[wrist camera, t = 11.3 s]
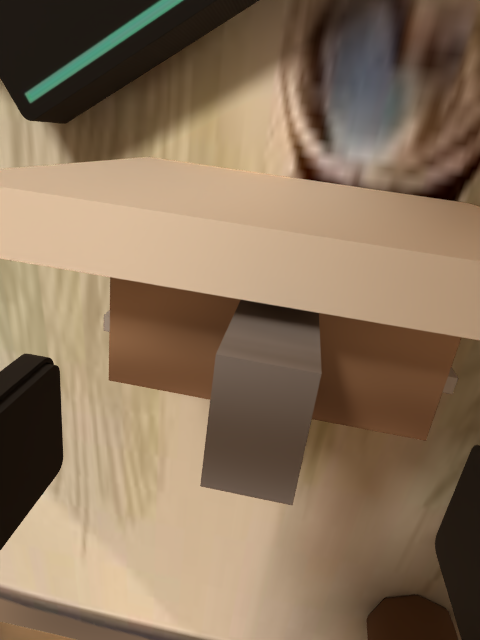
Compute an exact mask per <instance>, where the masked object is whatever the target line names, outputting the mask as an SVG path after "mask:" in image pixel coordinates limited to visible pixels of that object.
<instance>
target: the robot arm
mask: <svg viewBox="0 0 480 640" xmlns="http://www.w3.org/2000/svg"><path fill="white" fill-rule="evenodd" d="M62 462H63V441H62V416H61V391H60V371H59V367H58V366H56V365H54V363H53V361H52V359H51V358H48V357H43V356H37V355H32V354H23V355H21V356H20V357H19V358H18V359H16V360H15V361H14V362H12V363H11V364H10V365H8V366H7V367H6V368H4V369H3V370H2V371H0V550H1V549H2V547H3V546H4V545H5V543H6V542H7V541H8V539H9V538H10V537H11V535H12V534H13V533H14V531H15V530H16V529H17V527H18V526H19V525H20V523H21V522H22V521H23V519H24V518H25V517H26V515H27V514H28V513H29V511H30V510H31V509H32V507H33V506H34V505H35V503H36V502H37V501H38V499H39V498H40V497H41V495H42V494H43V493H44V491H45V490H46V489H47V487H48V486H49V485H50V483H51V482H52V481H53V479H54V478H55V477H56V475H57V474H58V472H59V470H60V468H61V465H62ZM435 549H436V554H437V558H438V561H439V565H440V568H441V571H442V575H443V578H444V581H445V585H446V588H447V591H448V595H449V598H450V602H451V605H452V608H453V612H454V615H455V618H456V622H457V625H458V628H459V632H460V635H461V638H462V640H480V446H479V445H475V446H474V447H473V448H472V450H471V452H470V455H469V457H468V459H467V462H466V464H465V467H464V469H463V472H462V474H461V477H460V479H459V481H458V484H457V486H456V489H455V491H454V494H453V496H452V498H451V501H450V503H449V506H448V508H447V511H446V513H445V515H444V518H443V520H442V523H441V525H440V528H439V530H438V532H437V535H436V540H435ZM0 640H76V639H72V638H68V637H64V636H60V635H55V634H51V633H47V632H43V631H39V630H34V629H30V628H26V627H21V626H17V625H13V624H9V623H4V622H1V621H0Z"/></svg>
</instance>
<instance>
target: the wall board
mask: <svg viewBox="0 0 480 640" xmlns="http://www.w3.org/2000/svg"><path fill="white" fill-rule="evenodd" d="M0 258H1V259H7V260H13V261H19V262H25V263H31V264H36V265H42V266H48V267H54V268H60V269H66V270H72V271H77V272H83V273H89V274H95V275H101V276H107V277H112V278H118V279H124V280H130V281H136V282H142V283H148V284H153V285H159V286H165V287H171V288H177V289H183V290H188V291H194V292H200V293H206V294H212V295H218V296H224V297H229V298H235V299H241V300H247V301H253V302H259V303H264V304H270V305H276V306H282V307H288V308H294V309H299V310H305V311H311V312H317V313H323V314H329V315H335V316H340V317H346V318H352V319H358V320H364V321H370V322H375V323H381V324H387V325H393V326H399V327H405V328H411V329H416V330H422V331H428V332H434V333H440V334H446V335H451V336H457V337H463V338H469V339H475V340H480V207H478V206H475V205H473V204H470V203H464V202H457V201H450V200H443V199H436V198H429V197H422V196H415V195H408V194H402V193H395V192H388V191H381V190H374V189H367V188H360V187H353V186H346V185H340V184H333V183H326V182H319V181H312V180H305V179H298V178H291V177H284V176H278V175H271V174H264V173H257V172H250V171H243V170H236V169H229V168H222V167H215V166H209V165H202V164H195V163H188V162H181V161H174V160H167V159H160V158H153V157H140V158H128V159H116V160H104V161H92V162H80V163H68V164H55V165H43V166H31V167H19V168H7V169H0ZM104 331H108V332H110V310H109V311H108V312H107V313H106V314H104ZM457 381H458V377H457V376H456V374H455V372H454V371H453V369H452V367H451V369H450V372H449V375H448V378H447V381H446V384H445V386H444V389H443V393H448V394H453V392H454V389H455V386H456V384H457Z"/></svg>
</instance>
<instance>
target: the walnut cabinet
mask: <svg viewBox="0 0 480 640" xmlns="http://www.w3.org/2000/svg"><path fill="white" fill-rule="evenodd" d="M460 340H461V337H457V336H451V335H446V334H440V333H434V332H428V331H422V330H416V329H411V328H405V327H399V326H393V325H387V324H381V323H375V322H370V321H364V320H358V319H352V318H346V317H340V316H335V315H329V314H323V313H317V312H311V311H305V310H299V309H294V308H288V307H282V306H276V305H270V304H264V303H259V302H253V301H247V300H241V299H235V298H229V297H224V296H218V295H212V294H206V293H200V292H194V291H188V290H183V289H177V288H171V287H165V286H159V285H153V284H148V283H142V282H136V281H130V280H124V279H118V278H112V277H110V337H109V380H110V381H116V382H121V383H126V384H131V385H137V386H142V387H147V388H152V389H158V390H163V391H168V392H173V393H179V394H184V395H189V396H194V397H200V398H205V399H210V408H209V417H208V425H207V434H206V442H205V451H204V460H203V468H202V477H201V485H200V486H202V487H207V488H211V489H216V490H221V491H226V492H231V493H235V494H240V495H245V496H250V497H255V498H259V499H264V500H269V501H274V502H279V503H283V504H288V505H293V500H294V496H295V491H296V487H297V482H298V478H299V473H300V469H301V464H302V460H303V455H304V451H305V446H306V442H307V437H308V433H309V428H310V424H311V419H315V420H320V421H325V422H331V423H336V424H341V425H346V426H352V427H357V428H362V429H367V430H373V431H378V432H383V433H388V434H394V435H399V436H404V437H409V438H415V439H420V440H425V441H426V439H427V436H428V433H429V430H430V427H431V424H432V421H433V418H434V415H435V412H436V410H437V407H438V404H439V401H440V398H441V395H442V392H443V389H444V386H445V384H446V381H447V378H448V375H449V372H450V369H451V366H452V363H453V360H454V357H455V355H456V352H457V349H458V346H459V343H460Z"/></svg>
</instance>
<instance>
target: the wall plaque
mask: <svg viewBox="0 0 480 640" xmlns="http://www.w3.org/2000/svg"><path fill="white" fill-rule="evenodd" d="M257 1H259V0H0V78H1V80H2V81H3V83H4V85H5V87H6V88H7V90H8V92H9V93H10V95H11V97H12V99H13V100H14V102H15V104H16V105H17V107H18V109H19V111H20V112H21V114H22V115H23V117H24V118H26V119H27V120H30V121H41V122H53V123H67V122H69V121H70V120H72V119H73V118H75V117H77V116H78V115H80V114H81V113H83V112H84V111H86V110H88V109H89V108H91V107H92V106H94V105H95V104H97V103H99V102H100V101H102V100H103V99H105V98H106V97H108V96H110V95H111V94H113V93H114V92H116V91H117V90H119V89H121V88H122V87H124V86H125V85H127V84H128V83H130V82H132V81H133V80H135V79H136V78H138V77H139V76H141V75H143V74H144V73H146V72H147V71H149V70H150V69H152V68H154V67H155V66H157V65H158V64H160V63H161V62H163V61H165V60H166V59H168V58H169V57H171V56H172V55H174V54H176V53H177V52H179V51H180V50H182V49H183V48H185V47H187V46H188V45H190V44H191V43H193V42H194V41H196V40H198V39H199V38H201V37H202V36H204V35H205V34H207V33H209V32H210V31H212V30H213V29H215V28H216V27H218V26H220V25H221V24H223V23H224V22H226V21H227V20H229V19H231V18H232V17H234V16H235V15H237V14H238V13H240V12H242V11H243V10H245V9H246V8H248V7H249V6H251V5H253V4H254V3H256V2H257Z"/></svg>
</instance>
